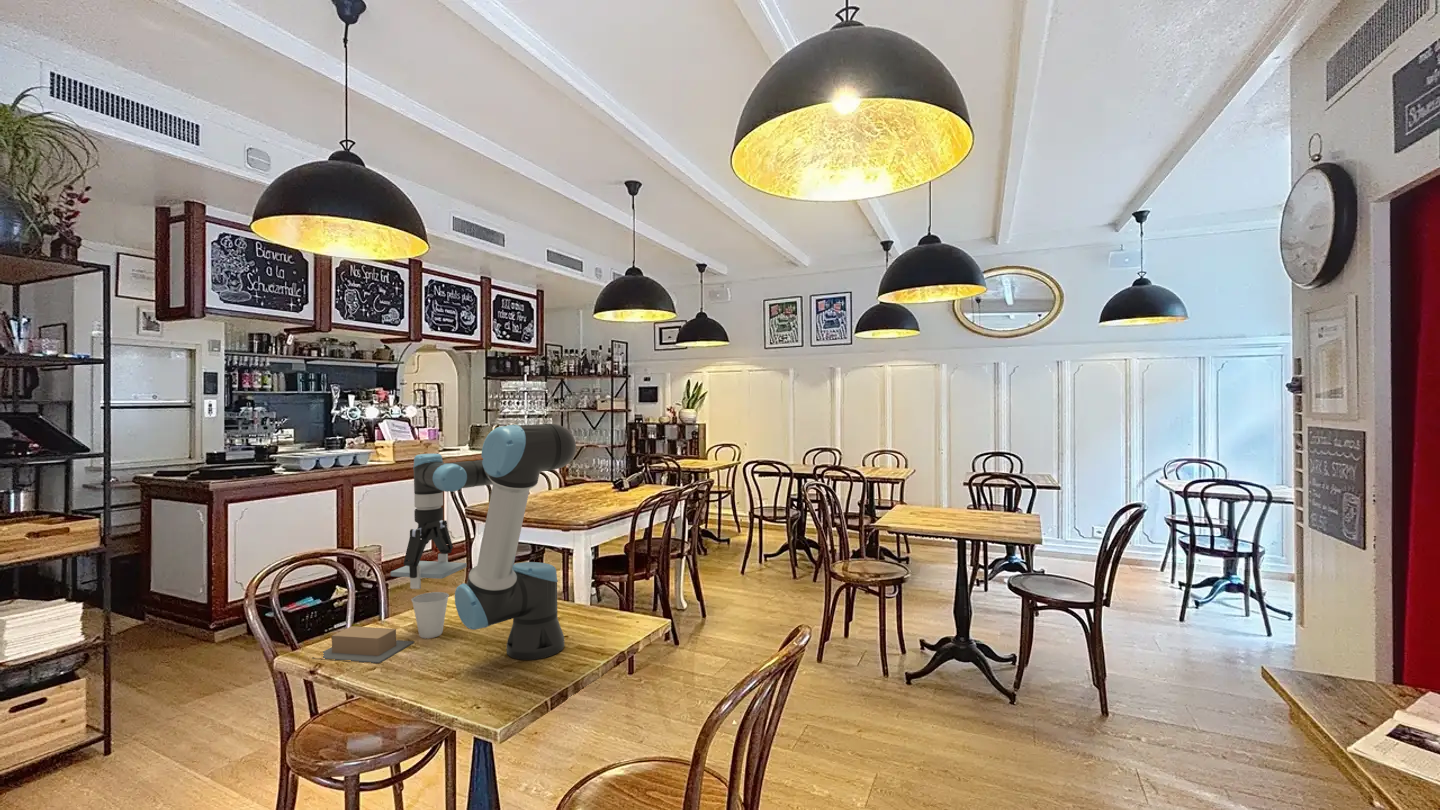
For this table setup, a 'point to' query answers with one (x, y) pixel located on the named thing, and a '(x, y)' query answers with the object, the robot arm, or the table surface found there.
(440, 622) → the cup
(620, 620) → the table surface
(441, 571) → the sheet
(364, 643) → the brown block on plate
